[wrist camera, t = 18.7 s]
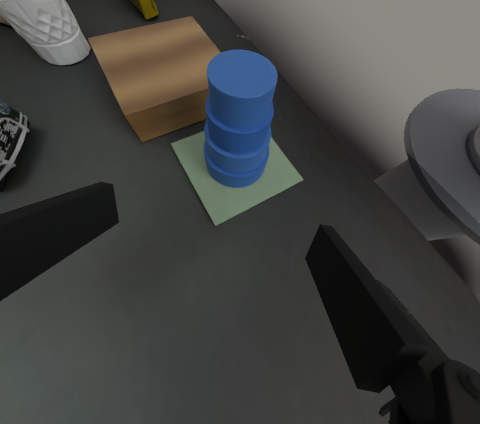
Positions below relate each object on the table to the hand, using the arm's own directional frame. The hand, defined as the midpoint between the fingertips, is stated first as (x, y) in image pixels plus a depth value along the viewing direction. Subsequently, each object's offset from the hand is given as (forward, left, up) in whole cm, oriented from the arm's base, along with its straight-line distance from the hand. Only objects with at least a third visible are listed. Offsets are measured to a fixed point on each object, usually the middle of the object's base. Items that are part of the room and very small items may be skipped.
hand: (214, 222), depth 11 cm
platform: (+23, -4, -7) cm, 24 cm away
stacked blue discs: (+8, -6, -7) cm, 12 cm away
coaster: (+8, -6, -7) cm, 12 cm away
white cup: (+37, +7, -8) cm, 38 cm away
